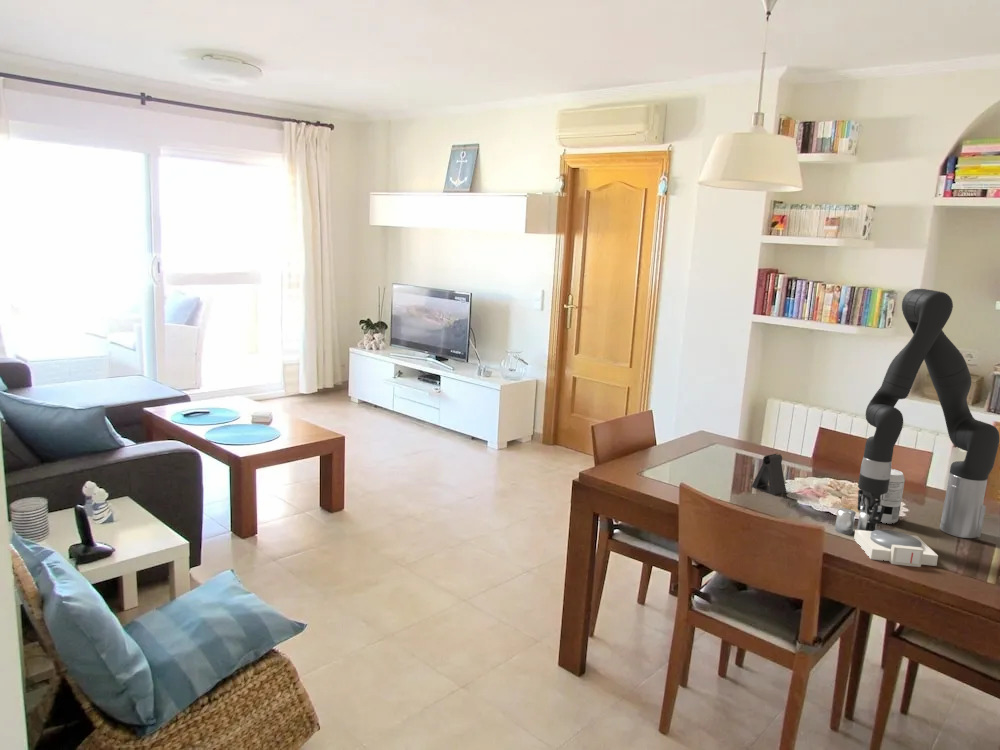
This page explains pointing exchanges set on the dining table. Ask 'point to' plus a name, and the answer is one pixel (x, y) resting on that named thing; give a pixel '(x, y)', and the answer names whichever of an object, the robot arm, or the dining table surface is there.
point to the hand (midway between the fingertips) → (866, 531)
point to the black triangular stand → (770, 476)
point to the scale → (895, 547)
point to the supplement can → (893, 497)
